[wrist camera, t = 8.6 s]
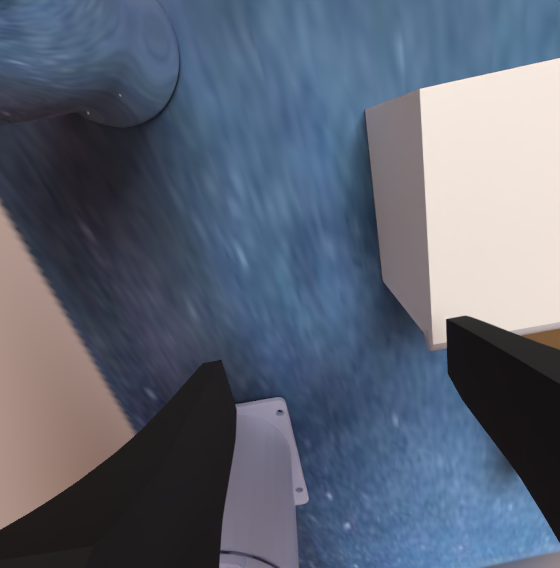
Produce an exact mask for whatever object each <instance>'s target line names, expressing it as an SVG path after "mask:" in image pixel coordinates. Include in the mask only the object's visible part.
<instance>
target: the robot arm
mask: <svg viewBox="0 0 560 568" xmlns="http://www.w3.org/2000/svg"><path fill="white" fill-rule="evenodd" d="M446 336H447V364H448V375H449V376H450V378H451V380H452V382H453V384H454V386H455V388H456V389H457V391H458V393H459V394H460V396H461V398H462V400H463V401H464V403H465V404H466V405H467V407H468V408H469V409H470V411H471V412H472V413H473V415H474V416H475V418H476V419H477V420H478V422H479V423H480V424H481V426H482V427H483V428H484V429H485V431H486V432H487V433H488V435H489V436H490V437H491V439H492V440H493V441H494V443H495V444H496V445H497V447H498V448H499V449H500V451H501V452H502V453H503V454H504V456H505V457H506V458H507V460H508V461H509V462H510V464H511V465H512V467H513V468H514V469H515V471H516V472H517V474H518V475H519V477H520V478H521V480H522V481H523V483H524V484H525V486H526V488H527V489H528V491H529V492H530V494H531V496H532V497H533V499H534V501H535V502H536V504H537V505H538V507H539V509H540V510H541V512H542V514H543V515H544V517H545V519H546V520H547V522H548V524H549V525H550V527H551V529H552V531H553V532H554V534H555V536H556V537H557V539H558V541H559V542H560V350H559V349H556V348H553V347H550V346H547V345H544V344H542V343H539V342H536V341H533V340H531V339H528V338H525V337H523V336H520V335H517V334H515V333H512V332H510V331H507V330H504V329H502V328H499V327H497V326H494V325H492V324H489V323H486V322H484V321H481V320H478V319H476V318H473V317H469V316H466V315H465V316H460V317H454V318H449V319H446ZM278 410H282V412H277V411H278ZM299 487H300V488H299ZM308 500H309V497H308V491H307V487H306V483H305V479H304V475H303V471H302V467H301V462H300V458H299V454H298V450H297V446H296V442H295V437H294V433H293V429H292V425H291V421H290V417H289V413H288V408H287V404H286V401H285V400H284V399H283V398H281V397H275V398H269V399H263V400H258V401H252V402H246V403H241V404H235V403H234V399H233V396H232V393H231V389H230V386H229V383H228V380H227V376H226V373H225V370H224V367H223V363H222V360H219V361H213V362H208V363H203V364H202V365H201V366H200V367H199V368H198V369H197V370H196V372H195V373H194V374H193V375H192V376H191V377H190V378H189V380H188V381H187V382H186V383H185V384H184V385H183V386H182V388H181V389H180V390H179V391H178V392H177V393H176V394H175V395H174V397H173V398H172V399H171V400H170V401H169V402H168V403H167V404H166V405H165V406H164V407H163V408H162V409H161V410H160V411H159V413H158V414H157V415H156V416H155V417H154V418H153V419H152V420H151V421H150V422H149V423H148V424H147V425H146V426H145V427H144V428H143V429H142V430H141V431H140V432H138V433H137V434H136V435H135V436H134V437H133V438H132V439H131V440H130V441H128V442H127V443H126V444H125V445H124V446H123V447H121V448H120V449H119V450H118V451H117V452H116V453H114V455H112V456H111V457H109V458H108V459H107V460H105V461H104V462H103V463H102V464H100V465H99V466H97V467H96V468H95V469H94V470H92V471H91V472H90V473H88V474H87V475H86V476H84V477H83V478H82V479H80V480H79V481H77V482H76V483H75V484H73V485H72V486H70V487H69V488H67V489H66V490H64V491H63V492H61V493H60V494H58V495H57V496H55V497H54V498H52V499H51V500H49V501H48V502H46V503H45V504H43V505H41V506H40V507H38V508H37V509H35V510H34V511H32V512H30V513H29V514H27V515H25V516H23V517H22V518H20V519H18V520H16V521H15V522H13V523H11V524H10V525H8V526H6V527H4V528H3V529H1V530H0V568H299V559H298V542H297V525H296V508H295V505H301V504H305V503H307V502H308Z"/></svg>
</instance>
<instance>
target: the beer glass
mask: <svg viewBox="0 0 560 568" xmlns="http://www.w3.org/2000/svg"><path fill="white" fill-rule="evenodd" d="M178 73H179V50H178V44H177V39H176V36H175V32H174V29H173V27H172V24H171V22H170V20H169V18H168V16H167V14H166V12H165V11H164V9H163V7H162V6H161V5H160V3H159V2H158V1H157V0H0V127H2V126H9V125H17V124H25V123H30V122H35V121H40V120H44V119H49V118H53V117H57V116H61V115H65V114H69V113H74V112H76V113H78V114H80V115H82V116H84V117H86V118H87V119H90V120H92V121H94V122H97V123H100V124H103V125H107V126H112V127H131V126H135V125H139V124H142V123H144V122H146V121H148V120H150V119H151V118H153V117H154V116H156V115H157V114H158V113H159V112H160V111H161V110H162V109H163V108H164V107H165V106H166V104H167V103H168V101H169V100H170V98H171V96H172V94H173V91H174V89H175V86H176V83H177V79H178Z"/></svg>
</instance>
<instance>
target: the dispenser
mask: <svg viewBox="0 0 560 568" xmlns="http://www.w3.org/2000/svg"><path fill="white" fill-rule="evenodd" d="M365 115H366V125H367V135H368V144H369V154H370V164H371V173H372V183H373V192H374V202H375V212H376V221H377V231H378V241H379V250H380V260H381V270H382V279H383V282H384V283H385V284H386V286H387V287H388V288H389V289H390V291H391V292H392V293H393V295H394V296H395V297H396V298H397V300H398V301H399V302H400V303H401V305H402V306H403V307H404V308H405V310H406V311H407V312H408V314H409V315H410V316H411V317H412V319H413V320H414V321H415V322H416V324H417V325H418V326H419V327H420V329H421V330H422V331H423V333H424V339H425V343H426V346H427V348H428V350H429V351H437V350H442V349H447V336H446V319H449V318H454V317H460V316H465V315H466V316H469V317H473V318H476V319H478V320H481V321H484V322H486V323H489V324H492V325H494V326H497V327H499V328H502V329H504V330H507V331H510V332H512V333H515V334H517V335H520V336H521V335H527V334H532V333H538V332H544V331H549V330H555V329H560V58H558V59H554V60H549V61H545V62H540V63H535V64H531V65H526V66H522V67H517V68H513V69H508V70H504V71H499V72H495V73H490V74H486V75H481V76H476V77H472V78H467V79H463V80H458V81H454V82H449V83H445V84H440V85H436V86H431V87H427V88H422V89H418V90H416V91H413V92H410V93H408V94H405V95H402V96H400V97H397V98H394V99H392V100H389V101H386V102H384V103H381V104H378V105H376V106H373V107H370V108H367V109H365Z"/></svg>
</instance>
